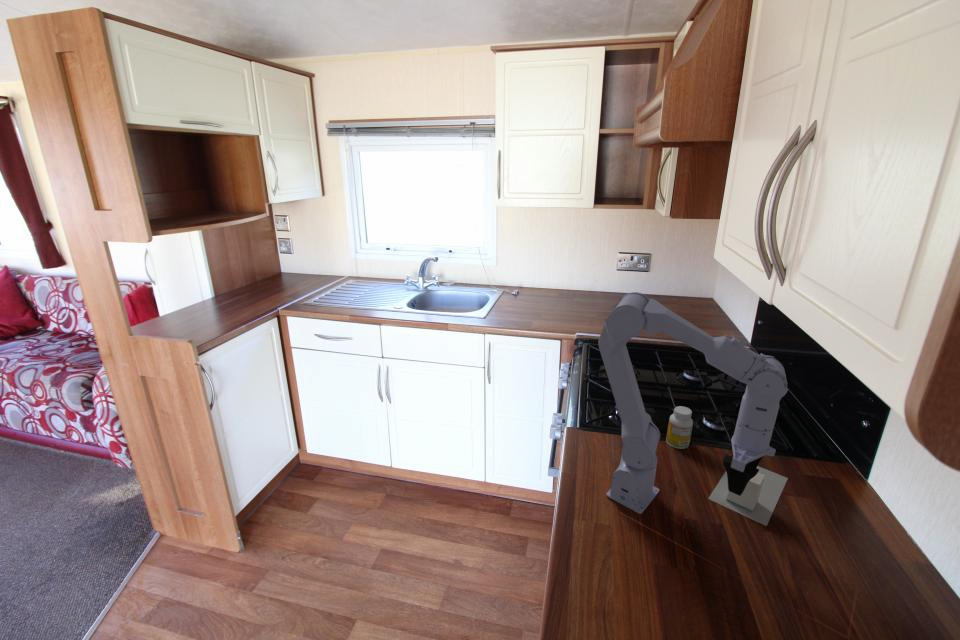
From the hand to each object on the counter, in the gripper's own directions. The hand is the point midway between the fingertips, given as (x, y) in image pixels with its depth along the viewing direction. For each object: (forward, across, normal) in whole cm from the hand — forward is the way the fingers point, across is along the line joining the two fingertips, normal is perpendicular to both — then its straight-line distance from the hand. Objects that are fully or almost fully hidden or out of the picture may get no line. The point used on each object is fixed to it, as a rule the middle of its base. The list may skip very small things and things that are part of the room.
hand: (740, 482), depth 88 cm
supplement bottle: (+10, +19, +18) cm, 28 cm away
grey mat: (+10, +13, 0) cm, 16 cm away
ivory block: (+10, +8, 0) cm, 12 cm away
